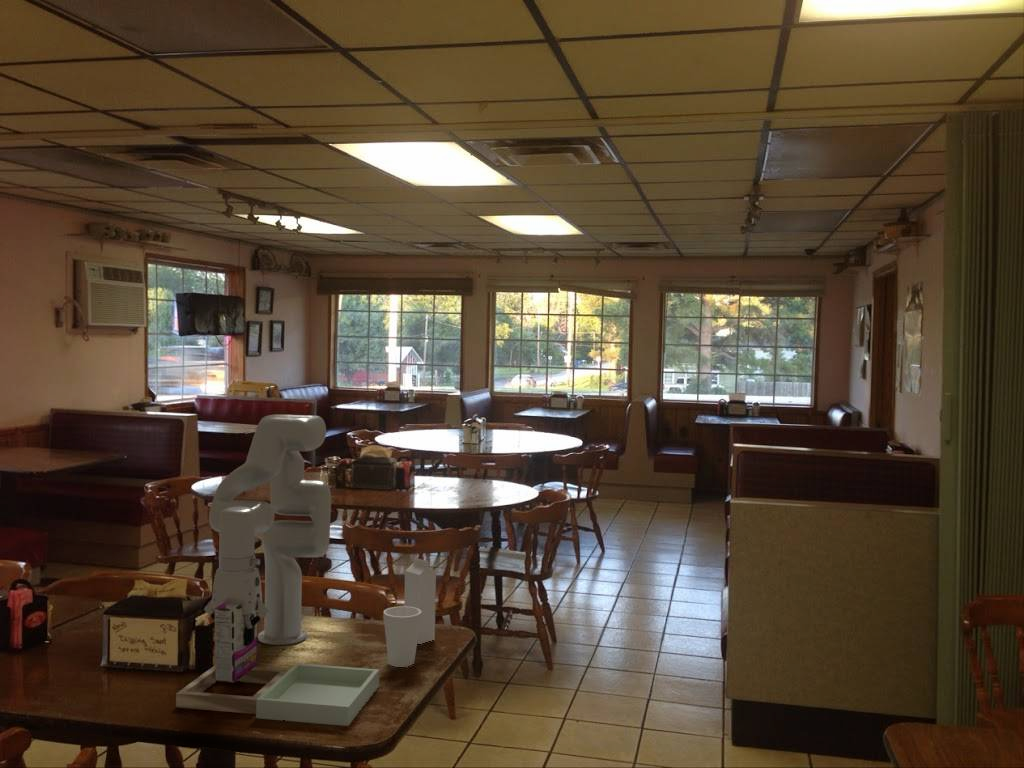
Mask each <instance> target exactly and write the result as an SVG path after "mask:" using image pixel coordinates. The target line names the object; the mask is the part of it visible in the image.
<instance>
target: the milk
mask: <svg viewBox="0 0 1024 768" xmlns="http://www.w3.org/2000/svg"><path fill="white" fill-rule="evenodd" d="M436 581H437V571H436V570H435V569H432V567H429V561H428V560H425V559H421V558H417V557H413V559H412V564H410V565H409V566H408V568H406V570H404V594H403V595H404V599H403V600H404V601H403V603H404V604H403V606H407V607H414V608H418V609H420V610H421V623H420V627H419V634H418V641H417V644H421V645H423V644H422V643H425V642H428V641H431V642H433V641H432V640H434V641H435V638H436V636H435V634H436V633H435V631H436V627H435V626H436V595H437V594H436V591H437V589H436V586H437V582H436ZM428 643H429V642H428ZM425 644H426V643H425Z"/></svg>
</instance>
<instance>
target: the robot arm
mask: <svg viewBox="0 0 1024 768" xmlns="http://www.w3.org/2000/svg"><path fill="white" fill-rule="evenodd" d="M326 427H327V425H326V423H325V421H324V419H323V417H321V416H319V415H308V414H307V415H306V414H304V415H303V414H302V415H301V414H270V415H269V414H268V415H266V416H264V417H262V418H261V419H260V421H259V423H258V425H256V428H255V431H254V435H253V437H252V440H251V441H252V442H251V444H250V447H249V450H248V454H247V456H246V460H245V463H243V464H242V465H240V466H239V467H237V468H236V469H234V470H233V471H232V472H230V473H229V474H227V476H225V477H224V479H223V480H221V482H220V483H219V484H218V486H217V489H216V490H215V492H214V496H213V499H212V502H211V505H210V510H209V514H208V522H209V526H210V528H211V529H212V530H213V531H215V532H217V533H218V534H219V537H218V538H219V539H218V541H219V542H218V546H219V547H218V550H219V551H218V568H217V569H216V572H215V575H214V580H213V587H212V595H211V596H212V597H211V600H210V601H209V602H208V603H207V604H206V606H204V609H203V611H205V612H206V613H207V614H208V615H209V616H210V618H211V619H212V620H213V621H214V608H216V607H218V606H220V605H221V604H232V605H241V607H242V615H244V619H245V623H246V628H245V629H244V645H245V646H248V645H250V644H251V643H252V642H253V640H254V637H255V625H256V624H257V623H260V621H261V620H262V619H264V622H263V623H264V625H263V628H264V629H263V630H262V631H260V632H259V633H258V642H261V643H262V644H265V645H270V646H271V645H272V646H284V645H285V646H286V645H293V644H297V643H300V642H303V641H304V640H305V639H306V638H307V637H308V636H307V635H308V634H307V633H308V632H307V631H306V630H305V629H303V628H302V621H303V620H304V616H303V614H302V589H303V588H302V586H303V584H302V582H303V574H302V570H301V567H300V565H299V563H298V561H297V560H296V558H321V557H323V556H325V555H326V554H327V552H328V550H329V546H330V545H329V544H330V535H331V511H332V493H331V489H330V487H329V485H328V483H327V482H325V481H323V480H314V479H312V480H309V479H307V480H306V479H305V460H304V457H303V456H302V454H301V453H300V452H311V451H314V450H316V449H319V448H320V447H321V446H322V445H323V443H324V442H325V439H326V435H327V428H326ZM268 483H270V498H269V499H270V500H269V501H270V502H267V501H263V500H248V499H247V500H246V499H243V500H242V499H235V497H237V496H239V495H240V494H242V493H244V492H246V491H248V490H251V489H254V488H256V487H259V486H262V485H264V484H268ZM275 514H277V515H282V516H298V517H300V516H302V517H304V516H305V517H310V519H311V520H292V519H291V520H290V519H286V520H285V519H284V520H283V519H280V520H275V517H276V515H275ZM256 535H261V541H262V548H263V554H264V567H265V568H264V572H265V573H264V577H265V578H264V603H263V592H262V581H261V575H260V570H259V568H258V567H256V566H260V564H261V559H260V558H256V554H255V543H256V542H255V541H256V539H255V537H256ZM255 610H257V611H258V612H259V613H257V616H256V617H255V613H254V612H255ZM257 625H258V624H257Z"/></svg>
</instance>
